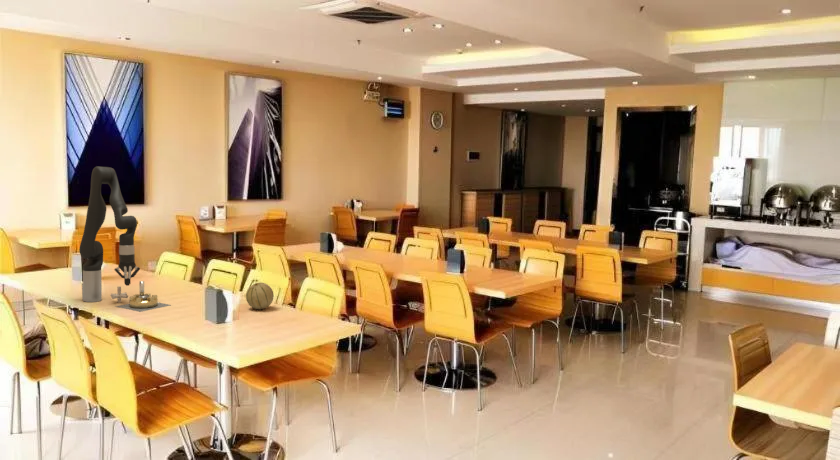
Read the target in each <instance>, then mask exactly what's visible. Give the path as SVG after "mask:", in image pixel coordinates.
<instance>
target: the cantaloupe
mask: <svg viewBox="0 0 840 460" xmlns="http://www.w3.org/2000/svg"><path fill="white" fill-rule="evenodd" d="M274 295H275V294H274V291H273V288H272V287H271V286H270V285H269V284H267V283H265V282H255V283H254V284H252V285H250V286H249V287H248V289H247V291H246V293H245V298H246V299H245V300H246V302H247V304H248V305H249V307H251V308H252V309H254V310H263V309H266V308H268V307H270V306H271V304H272V303H273V300H274Z"/></svg>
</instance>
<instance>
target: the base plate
mask: <svg viewBox="0 0 840 460" xmlns="http://www.w3.org/2000/svg"><path fill="white" fill-rule="evenodd" d="M169 306H172V305H171V304H168V303H162V302H159V301H158V305H157V306H155V307H150V308H132V307H130V306H129V303H125V304H120V305H115V306H114V307H115V308H120V309H126V310H130V311H134V312H139V313H141V312H142V313H144V312H147V311H152V310H156V309H160V308H166V307H169Z"/></svg>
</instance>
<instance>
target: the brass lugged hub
mask: <svg viewBox="0 0 840 460" xmlns="http://www.w3.org/2000/svg"><path fill="white" fill-rule="evenodd" d="M138 290H139V294H137V293H135V294H132V296H129V300H128V301H129V303H128V304H129V306H130V307H132V308H150V307H155V306H157V305H158V302H159V300H158V294H152V293H145V280H139V289H138Z"/></svg>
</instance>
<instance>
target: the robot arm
mask: <svg viewBox="0 0 840 460" xmlns="http://www.w3.org/2000/svg"><path fill="white" fill-rule="evenodd" d="M102 185H108V186H109V187H110V195H109V205H110V206H111V210H112V211H113V216H114V225H115V227H116V228H117V229H119V230H120V231H121V230H126V231H125V232H124V233H121V234H120V235H118V238H119V239H118V241H119V246H118V247H119V248H118V262H119V263H118V266H117V267H116V268H114V271H115V272H116V274H117V275H118V276H119V277H120V278H122V279H124V281H123V282H124V285H125V286H126V287H127V286H130V285H131V283H132V282H131V279H132V278H135V276H136V275H137V273H138V272H139V271H140V269H141V268H140V266H137V265H136V261H135V260H136V258H135V255H136V254H135V238H134V237H135V233H136V229H137V226H138V221H137V218H136V217H135V216H134V215H126V214H127V213H128V211H129V209H128V206H127V204H126V202H125V199H124V197H123V194H122V192H121V188H120V183H119V179H118V176H117V172H116V170H115V169H114V168H112V167H109V166H97V165H96V166H95V167H94V168H93V169H92V172H91V178H90V192H89V193H90V194H89V199H88V204H87V210H86V216H85V217H86V218H85V224H84V230H83V234H82V238H81V241H80V244H79V255H80V257H82V259H84V260H86V259H87V260H86V261H85V263H83V265H82V283H81V287H82V288H81V294H82V295H81V296H82V297H81V298H82V301H83V302H87V303H95V302H96V303H97V302H100V301H102V297H103V295H102V294H103V293H102V289H103V288H102V287H103V285H102V267H103V264H104V246H103V243H101V242H100V241H99V240H96V237H97V235H98V232H99V231H100V229H101V227H102V226H103V224H104V222H105V220H106V215H107V204H106V201H105V200H104V198H103V196H102ZM120 271H122V272H123V274H122V273H121V272H120Z"/></svg>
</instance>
